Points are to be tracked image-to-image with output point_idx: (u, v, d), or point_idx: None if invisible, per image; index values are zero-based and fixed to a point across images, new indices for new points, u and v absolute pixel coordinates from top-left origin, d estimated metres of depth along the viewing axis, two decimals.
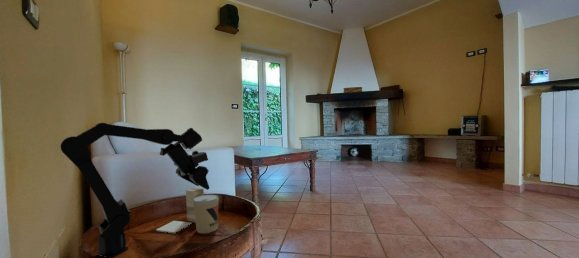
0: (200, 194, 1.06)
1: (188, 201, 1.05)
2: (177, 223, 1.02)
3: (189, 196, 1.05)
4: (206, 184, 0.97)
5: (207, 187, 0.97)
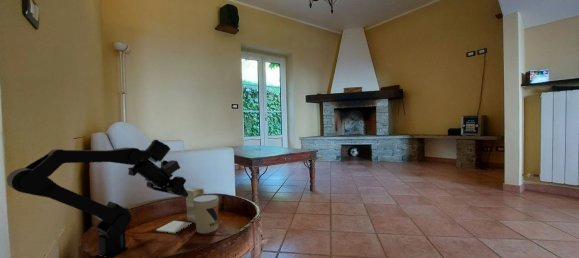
0: (200, 194, 1.06)
1: (188, 201, 1.05)
2: (177, 223, 1.02)
3: (189, 196, 1.05)
4: (185, 192, 0.97)
5: (186, 194, 0.98)
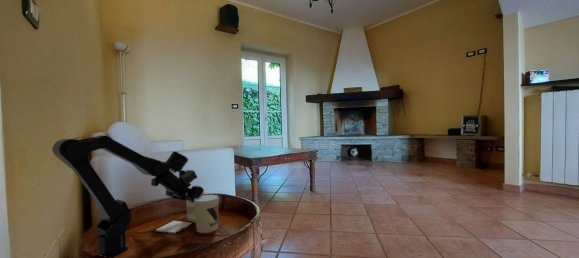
0: None
1: (188, 201, 1.05)
2: (177, 223, 1.02)
3: None
4: None
5: None
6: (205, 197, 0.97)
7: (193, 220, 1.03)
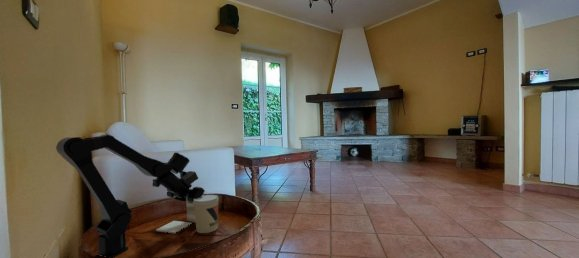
0: None
1: None
2: (177, 223, 1.02)
3: None
4: None
5: None
6: (205, 197, 0.97)
7: (193, 220, 1.04)
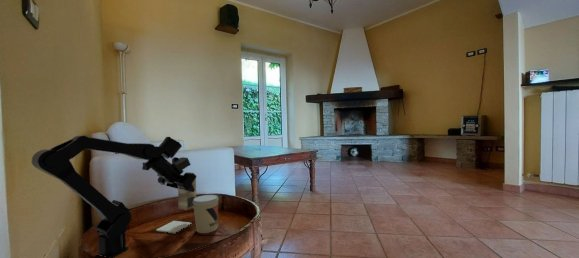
0: None
1: None
2: (177, 223, 1.02)
3: None
4: (192, 187, 1.01)
5: (192, 189, 1.02)
6: (204, 197, 0.97)
7: (184, 207, 1.00)
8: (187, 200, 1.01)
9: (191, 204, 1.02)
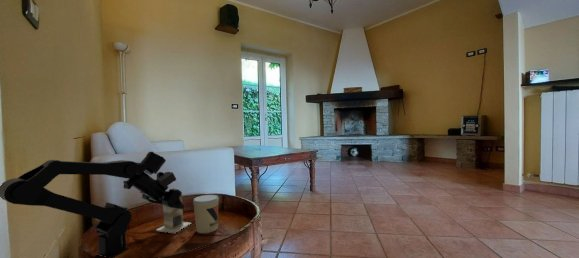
0: None
1: (165, 206, 0.97)
2: None
3: None
4: (180, 204, 0.96)
5: (181, 206, 0.97)
6: (205, 197, 0.97)
7: (170, 227, 0.96)
8: (173, 219, 0.96)
9: (177, 223, 0.97)
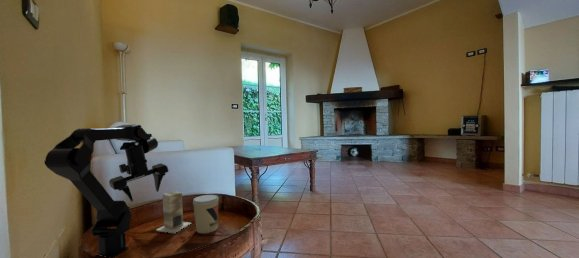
0: (178, 199, 0.98)
1: (165, 206, 0.97)
2: None
3: (165, 200, 0.97)
4: None
5: None
6: (204, 197, 0.97)
7: (170, 227, 0.96)
8: (173, 219, 0.96)
9: (177, 223, 0.97)
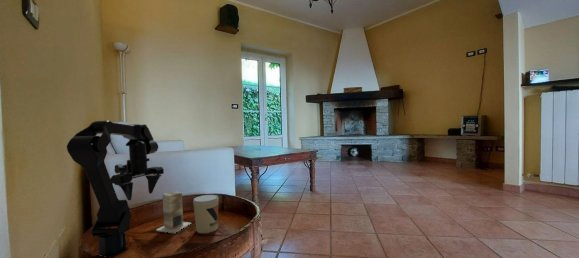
0: (178, 199, 0.98)
1: (165, 206, 0.97)
2: None
3: (165, 200, 0.97)
4: None
5: None
6: (204, 197, 0.97)
7: (170, 227, 0.96)
8: (173, 219, 0.96)
9: (177, 223, 0.97)
